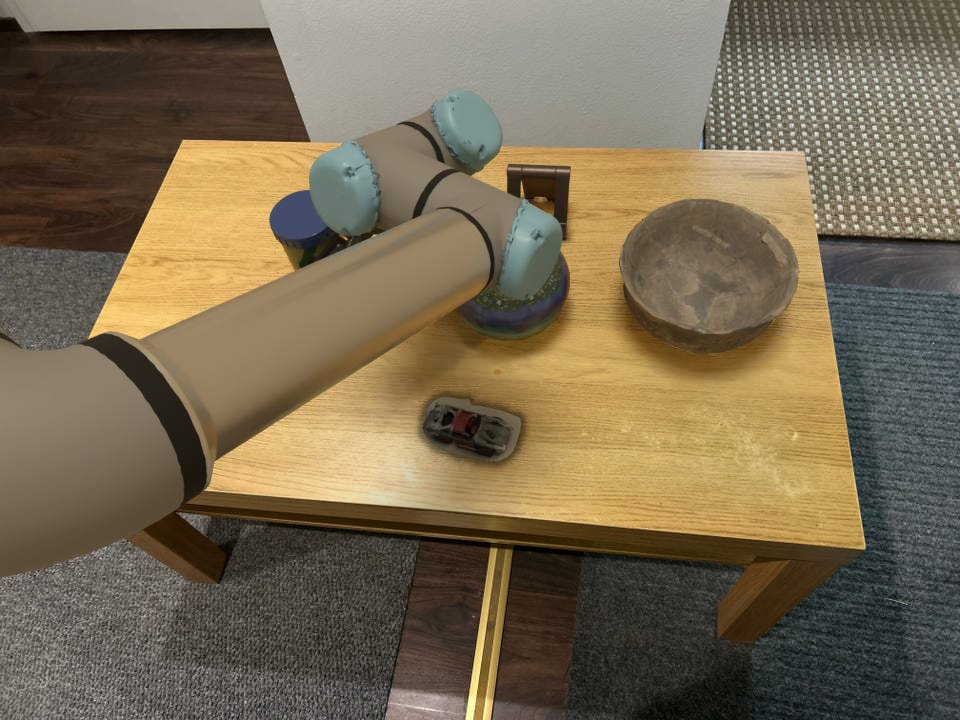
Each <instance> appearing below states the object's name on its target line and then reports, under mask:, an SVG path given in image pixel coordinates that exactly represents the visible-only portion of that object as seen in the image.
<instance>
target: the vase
mask: <svg viewBox="0 0 960 720" xmlns="http://www.w3.org/2000/svg"><path fill="white" fill-rule="evenodd" d="M570 289H571V274H570V269H569V265H568V261H567V260H566V257H565V255H564V253H563V252H562V250H560V253H559V256H558V259H557V262H556V264H555V267H554V269H553V271H552V273H551V274H550V276H549V278H548V279H547V281H546V282H545V284H544V285H543V286H542V287H541V288H540V290H539V291H538V292H537V293H536V294H534V295H533V296H531V297H530V298H528V299H525V300H522V299H519V300H517V299H514V298H511V297H509V296H507V295H505V294H503V295H500V294H498V293H497V291H496V290H495V289H493V288H488V289H487V290H485V291H483V292H482V293H480V294H478V295H476V296H475V297H473V298H472V299H470V300H468V301H467V302H465V303H464V304H462V305H461V306H459V307H457V308H456V309H455V312H456V313H457V315H458V316H459V317H460V319H461V320H462V321H463V322H464V323H465V324H466V326H468V328H470V329H472V330H473V331H475V332H476V333H478V335H482V336H483V337H486V338H489V339H491V340H495V341H502V342H515V341H522V340H526V339H530V338H532V337H535V336H537V335H539V334H541V333H542V332H544V331H545V330H547V329H548V328H549V327H550V326H551V325H553V324H554V323H555V321H556V320H557V319H558V318H559V316H561V314H562V312H563V310H564V308H565V306H566V304H567V301H568V299H569V295H570Z"/></svg>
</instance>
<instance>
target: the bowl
mask: <svg viewBox="0 0 960 720" xmlns="http://www.w3.org/2000/svg"><path fill="white" fill-rule="evenodd" d="M619 252H620V253H619V259H618V267H619V272H620V276H621V279H622V282H623V283H622V293H623V298H624V301H625V304H626V307H627V308H628V310H629V312H630V314H631V315H632V317H633V319H634V320H635V322H636V323H637V324H638V325H639V327H641V328H642V329H643V330H644V332H646V333H647V334H648V335H649V336H651V337H652V338H653V339H656V340H658V341H659V342H661V343H664V344H666V345H669V346H670V347H672V348H675V349H679V350H682V351H684V352H687V353H689V354H690V353H691V354H693V355H695V356H705V355H707V356H708V355H716V354H724V353H728V352H732V351H735V350H738V349H739V348H741V347H744V346H748V345H749V344H752V343H753V342H755V341H757V340H758V339H759V338H760V337H762V335H764V334H765V333H766V331H767V330H768V329H769V328H770V327H771V325H772V324H773V323H774V320H776V319H777V318H778V317H780V316H781V315H783V314H784V312H785V311H786V310H787V309H788V307H789V306H790V305H791V303H792V301H793V299H794V296H795V294H796V292H797V290H798V285H799V274H800V267H799V266H800V265H799V260H798V257H797V255H796V252H795V249H794V248H793V245H792V243H791V241H790V240H789V239H788V238H786V237H785V236H784V234H783V233H782V232H781V231H780V230H779V229H778V228H777V227H776V225H774V224H772V223H771V222H770V220H769V219H767V218H766V217H764V216H762V215H759V214H758V213H757V212H754V211H752V210H751V209H749V208H747V207H746V206H743V205H739V204H736V203H732V202H728V201H722V200H719V199H713V198H692V197H689V198H684V199H680V200H679V199H678V200H676V201H673V202H670V203H667V204H665V205H662V206H659V207H658V208H656V209H654V210H652V211H651V212H650V213H648V214H647V215H646V216H644V217H643V218H642V220H640V221H639V222H637V223H636V224H635V225H634V227H633V228H632V229H631V230H630V232H629V233H628V234H627V235H626V238H625V240H624V242H623V244H622V246H621V248H620V251H619Z"/></svg>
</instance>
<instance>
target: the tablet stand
mask: <svg viewBox="0 0 960 720" xmlns="http://www.w3.org/2000/svg"><path fill="white" fill-rule="evenodd" d="M571 170H572V166H571V165H553V164H527V163H526V164H525V163H508V164H507V167H506V173H505V174H506V193H509V194H511V195H513V196H515V197H518V198H520V199H522V197H521V196H522V191H523V197H524V199H526V200H528V201H534V200H535V198H545V199H546V200H547V201H548V202H553V203H554V204H553V217H555V218H556V219H557V220H558V222H559V223H560V225H561V228H562V239H565V238H567V230H568V214H569V213H568V212H569V198H570V197H569V196H570V183H571V172H572V171H571Z"/></svg>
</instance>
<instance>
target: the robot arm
mask: <svg viewBox="0 0 960 720" xmlns="http://www.w3.org/2000/svg"><path fill="white" fill-rule="evenodd" d="M502 129H503V128H502V126H501V123H500V119H499V118H498V117H497V115H496V114H495V113H494V110H493V108H492V107H491V105H490V104H489V103H488V102H487V101H486V100H485V99H484V97H482V96H480V95H479V94H478V93H475V92H474V91H472V90H469V89H464V88H454V89H452V90H450V91H449V92H448V93H446V94H444V95H443V96H442V97H441V98H439V99H435V100H434V101H433V102H432V105H431V106H430V107H429V108H428V109H427V110H426V111H424V112H422V113H421V114H419V115H417V116H416V115H415V116H414V117H411V118H407V119H406V120H403V121H401V122H398V123H396V124H393V125H390V126H388V127H386V128H382V129H380V130H377V131H374V132H371V133H368V134H366V135H363V136H360V137H357V138H355V139H349V140H346V141H344V142H342V144H341V145H339V146H337V147H335V148H333V149H331V150H330V149H329V150H328V151H326V152H324V153H321V154H320V155H319V156H318V157H317V158H316V159H315V160H314V161H313V163H312V165H311V168H310V170H309V172H308V173H309V174H308V176H309V177H308V184H309V188H308V190H309V191H310V196H311V199H312V202H313V205H314V207H315V209H316V211H317V213H318V214H319V216H320V218H321V219H322V220H323V221H324V223H325V224H326V225H327V226H328V227H329V228H331V229H332V230H333V232H332V233H331V236H330V242H329V243H328V245H327V246H326V247H325V248H324V250H323V251H322V252H321V253H320V255H319V256H318V257H317V258H316V260H315V261H314V262H313V263H312V264H310V265H308V266H305V267H303V268H301V269H298V270H296V271H294V270H293V271H292V272H289V273H287V274H286V275H283V276H281V277H277V278H276V279H273V280H271V281H269V282H267V283H264V284H262V285H260V286H258V287H255V288H253V289H250V290H248V291H245V292H244V293H242V294H239V295H237V296H235V297H232V298H230V299H228V300H226V301H223V302H222V303H219V304H217V305H214V306H212V307H210V308H208V309H205V310H203V311H201V312H199V313H196V314H194V315H192V316H189V317H187V318H185V319H182V320H181V321H178V322H176V323H175V322H174V324H171V325H169V326H167V327H165V328H162V329H159V330H157V331H155V332H153V333H151V334H148V335H146V336H143V337H141V338H136V337H134V336H131V335H129V334H125V333H122V332H119V331H115V330H109V331H104V332H102V333H99V334H97V335H94V336H92V337H90V338H87V339H85V340H82V341H80V342H78V343H75V344H73V345H70V346H66V347H62V348H57V349H48V350H47V349H45V350H44V349H37V350H35V349H33V350H32V349H25V348H23V347H22V346H20V344H18V343H17V341H15V340H14V339H13V338H12V337H10V336H9V335H8V334H6V333H5V332H4V331H3V330H1V329H0V579H2V578H7V577H11V576H16V575H20V574H25V573H29V572H34V571H39V570H42V569H46V568H48V567H51V566H55V565H59V564H60V563H64V562H67V561H70V560H73V559H76V558H80V557H82V556H86V555H88V554H91V553H93V552H95V551H98V550H100V549H104V548H105V547H107V546H109V545H112V544H114V543H117V542H119V541H122V540H125V539H126V538H129V537H131V536H133V535H135V534H136V533H138V532H140V531H143V530H144V529H147V528H148V527H150V526H152V525H153V524H155V523H157V522H159V521H161V520H162V519H163V518H165V517H167V516H168V515H170V514H171V513H173V512H174V511H176V510H178V509H180V508H181V507H182V506H184V505H185V504H187V503H189V502H190V501H191V500H193V499H194V498H196V497H197V496H199V495H200V494H202V493H203V492H204V491H206V490H207V489H208V487H209V486H210V485H211V480H212V477H213V472H214V468H215V467H214V466H215V462H217V461H218V460H219V459H221V458H223V457H224V456H226V455H228V454H229V453H231V452H232V451H234V450H236V449H237V448H239V447H241V446H242V445H243V444H245V443H246V442H247V441H249V440H251V439H253V438H254V437H256V436H258V435H259V434H261V433H262V432H263V431H265V430H267V429H268V428H270V427H271V426H273V425H275V424H276V423H278V422H280V421H281V420H283V419H284V418H286V417H287V416H289V415H290V414H292V413H293V412H295V411H296V410H299V409H300V408H302V407H303V406H304V405H307V403H310V402H311V401H313V400H315V399H316V398H317V397H318V396H320V395H322V394H323V393H325V392H327V391H328V390H330V389H331V388H333V387H335V386H336V385H337V384H340V383H341V382H342V381H344V380H345V379H347V378H349V377H350V376H352V375H354V374H355V373H356V372H358V371H360V370H361V369H363V368H365V367H366V366H367V365H369V364H371V363H373V362H374V361H375V360H377V359H379V358H381V357H382V356H383V355H385V354H387V353H389V352H390V351H391V350H393V349H395V348H396V347H398V346H399V345H401V344H402V343H404V342H406V341H407V340H408V339H410V338H411V337H413V336H415V335H417V334H418V333H420V332H421V331H423V330H425V329H426V328H428V327H429V326H431V325H432V324H434V323H436V322H437V321H438V320H440V319H442V318H443V317H445V316H447V315H448V314H450V313H451V312H453V311H454V310H456V308H457V307H459V306H461V305H462V304H464V303H465V302H467V301H468V300H470V299H472V298H473V297H475V296H476V295H478V294H480V293H482V292H483V291H485V290H487V289H488V288H493V289H495V290H496V291H497V293H498V294H500V295H503V294H505V295H507V296H509V297H511V298H514V299H517V300H519V299H522V300H525V299H528V298H530V297H531V296H533V295H534V294H536V293H537V292H538V291H539V290H540V288H541V287H542V286H543V285H544V284H545V282H546V281H547V279H548V278H549V276H550V274H551V273H552V271H553V269H554V267H555V264H556V262H557V259H558V256H559V253H560V251H561V250H562V245H563V238H562V228H561V225H560V223H559V222H558V220H557V219H556V218H555V217H554V215H552V214H550V213H548V212H547V211H545V210H543V209H541V208H539V207H537V206H535V205H534V204H532V203H530V202H529V201H530V200H526V199H525V198H523V199H522V198H521V199H520V198H518V197H515V196H513V195H511V194H509V193H507V191H504V190H502V189H500V188H498V187H496V186H494V185H491V184H488V183H487V182H484V181H482V180H480V179H478V178H476V177H473V175H475V174H476V173H480V172H481V171H483V170H484V168H485V166H487V165H488V164H489V163H491V162H492V161H493V160H494V159H495V158H496V157H497V156H498V154H500V151H501V149H502V146H503V130H502ZM339 234H341V235H343V236H344V237H345V239H343V238H342V237H340V236H339ZM348 239H349V240H348ZM346 240H348V241H346Z"/></svg>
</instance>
